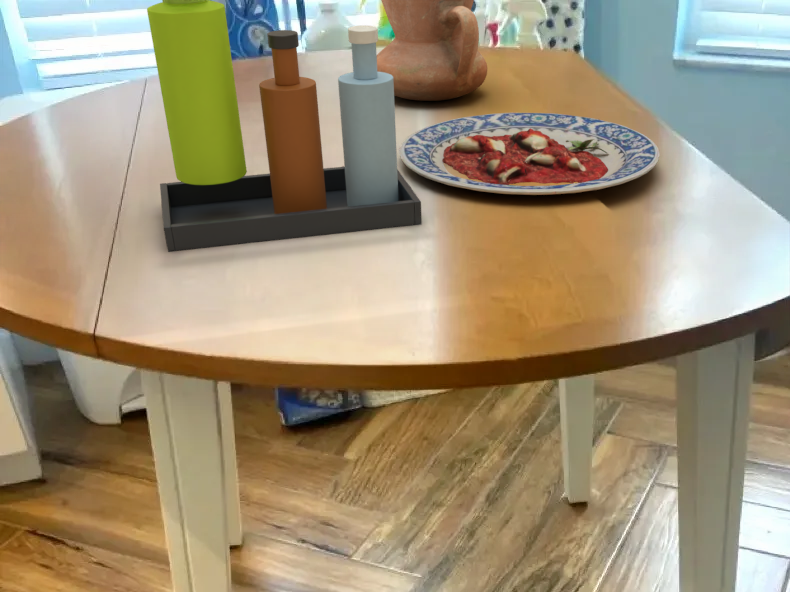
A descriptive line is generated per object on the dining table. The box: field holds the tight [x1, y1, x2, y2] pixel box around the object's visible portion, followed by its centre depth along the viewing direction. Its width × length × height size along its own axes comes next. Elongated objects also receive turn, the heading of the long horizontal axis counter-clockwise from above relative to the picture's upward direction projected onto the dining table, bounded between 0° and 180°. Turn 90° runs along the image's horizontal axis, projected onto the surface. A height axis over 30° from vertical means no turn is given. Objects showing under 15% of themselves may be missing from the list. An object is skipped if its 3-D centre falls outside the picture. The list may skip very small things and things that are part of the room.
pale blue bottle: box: [337, 24, 399, 206], centre depth 82 cm, size 5×5×15 cm
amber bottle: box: [258, 29, 327, 214], centre depth 80 cm, size 5×5×15 cm
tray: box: [159, 166, 422, 253], centre depth 84 cm, size 21×11×3 cm, turn 106°
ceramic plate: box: [398, 112, 661, 196], centre depth 96 cm, size 26×26×3 cm
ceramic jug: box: [376, 0, 488, 102], centre depth 117 cm, size 18×14×14 cm
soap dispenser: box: [146, 0, 247, 185], centre depth 76 cm, size 6×7×20 cm
